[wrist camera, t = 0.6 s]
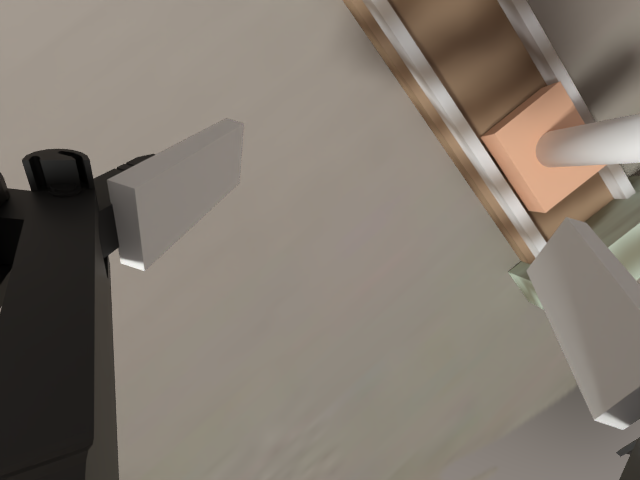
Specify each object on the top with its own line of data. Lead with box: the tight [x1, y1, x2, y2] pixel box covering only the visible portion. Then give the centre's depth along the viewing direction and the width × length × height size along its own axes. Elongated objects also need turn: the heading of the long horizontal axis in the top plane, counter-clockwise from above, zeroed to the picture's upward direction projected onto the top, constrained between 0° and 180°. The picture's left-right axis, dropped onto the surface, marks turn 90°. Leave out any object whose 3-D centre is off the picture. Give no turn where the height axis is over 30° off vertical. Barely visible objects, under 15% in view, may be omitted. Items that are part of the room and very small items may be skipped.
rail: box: [343, 0, 640, 309], centre depth 33 cm, size 48×18×7 cm, turn 39°
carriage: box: [481, 81, 640, 213], centre depth 28 cm, size 10×8×16 cm
